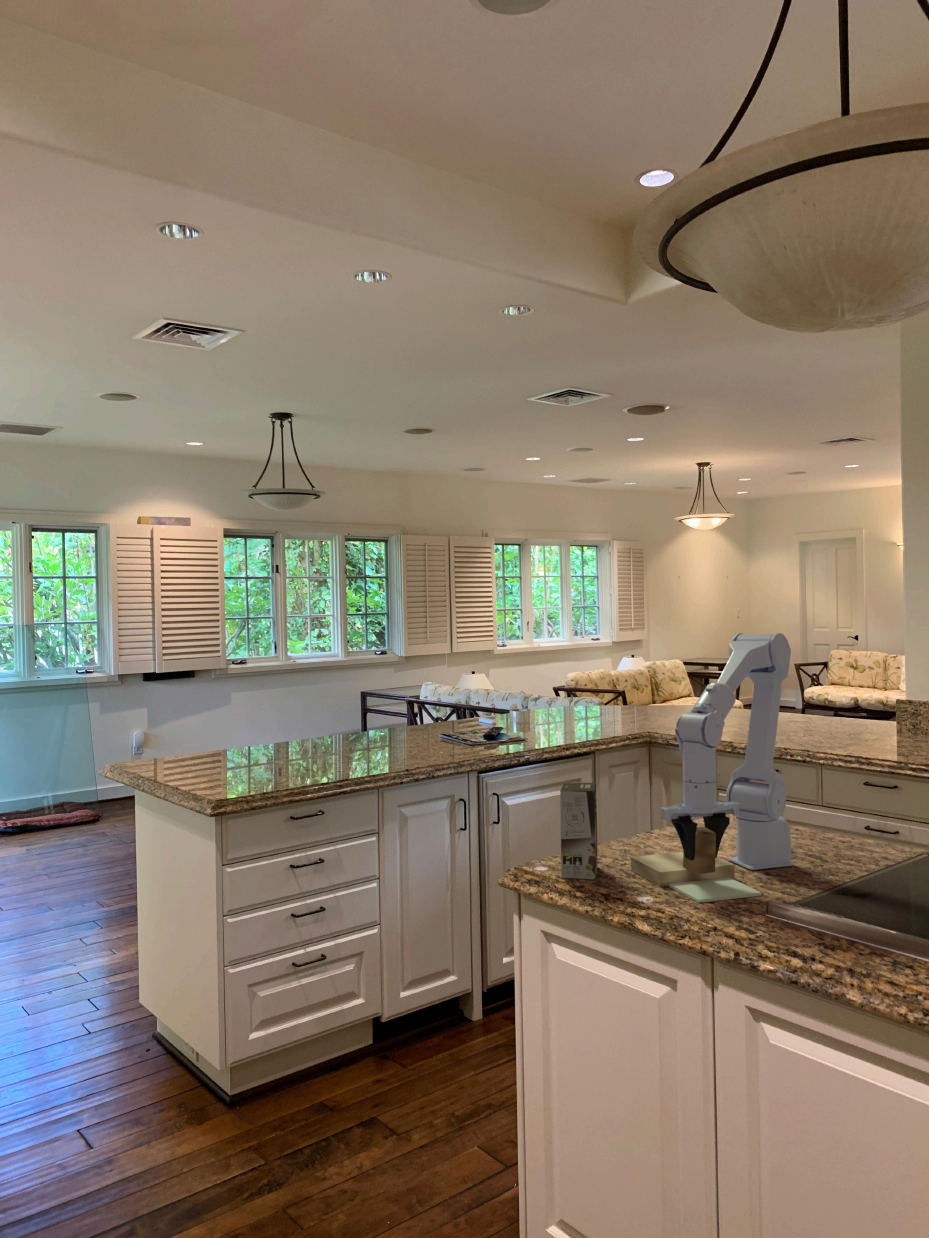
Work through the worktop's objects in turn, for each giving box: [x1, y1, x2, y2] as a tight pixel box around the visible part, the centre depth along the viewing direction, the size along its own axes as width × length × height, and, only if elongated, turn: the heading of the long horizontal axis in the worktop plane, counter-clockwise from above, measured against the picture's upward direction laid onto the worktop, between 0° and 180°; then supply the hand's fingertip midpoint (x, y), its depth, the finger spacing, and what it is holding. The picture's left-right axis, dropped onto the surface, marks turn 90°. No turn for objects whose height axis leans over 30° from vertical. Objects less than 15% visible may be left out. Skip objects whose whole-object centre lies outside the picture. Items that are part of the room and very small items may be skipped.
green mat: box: [668, 877, 762, 904], centre depth 152 cm, size 12×10×1 cm
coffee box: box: [559, 782, 599, 881], centre depth 165 cm, size 9×6×16 cm
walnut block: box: [682, 826, 716, 874], centre depth 156 cm, size 4×4×7 cm
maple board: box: [630, 851, 736, 888], centre depth 162 cm, size 15×11×2 cm
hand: (700, 857), depth 156 cm, fingers closed on walnut block, 4 cm apart
